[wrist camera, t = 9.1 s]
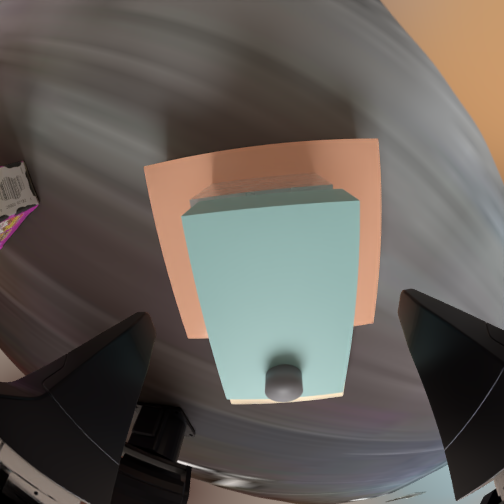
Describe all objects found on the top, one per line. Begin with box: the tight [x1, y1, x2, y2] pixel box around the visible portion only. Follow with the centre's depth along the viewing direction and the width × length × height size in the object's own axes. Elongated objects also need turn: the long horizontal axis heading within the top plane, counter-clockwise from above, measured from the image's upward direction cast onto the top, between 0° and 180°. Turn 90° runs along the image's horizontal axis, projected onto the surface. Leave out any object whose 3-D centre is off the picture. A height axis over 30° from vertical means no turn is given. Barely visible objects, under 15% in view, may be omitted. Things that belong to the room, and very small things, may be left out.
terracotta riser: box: [144, 139, 381, 338], centre depth 16 cm, size 11×12×4 cm
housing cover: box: [181, 189, 360, 402], centre depth 9 cm, size 5×8×3 cm, turn 7°
